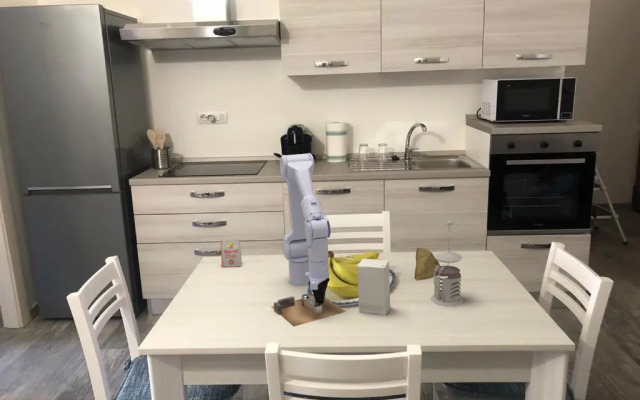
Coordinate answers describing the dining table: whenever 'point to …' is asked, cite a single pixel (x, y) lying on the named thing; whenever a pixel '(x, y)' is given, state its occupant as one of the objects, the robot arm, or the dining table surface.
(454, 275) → the french press
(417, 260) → the rock
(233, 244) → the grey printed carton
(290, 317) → the lock board
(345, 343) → the dining table surface
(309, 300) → the swing bar
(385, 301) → the skincare box
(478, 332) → the dining table surface
